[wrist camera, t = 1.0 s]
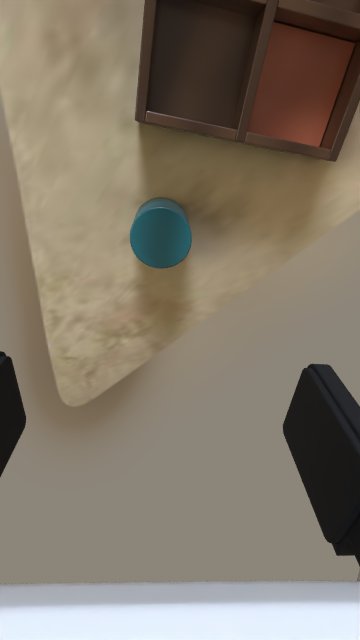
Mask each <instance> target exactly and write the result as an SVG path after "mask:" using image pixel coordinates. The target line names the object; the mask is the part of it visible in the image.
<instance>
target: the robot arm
mask: <svg viewBox="0 0 360 640" xmlns="http://www.w3.org/2000/svg"><path fill="white" fill-rule="evenodd" d="M25 423H26V415H25V412H24V408H23V403H22V399H21V396H20V391H19V387H18V383H17V379H16V375H15V371H14V367H13V363H12V359H11V358H10V357H9V356H6V354H5V353H4V352H1V351H0V477H1V474H2V473H3V471H4V468H5V466H6V464H7V462H8V460H9V458H10V456H11V454H12V452H13V450H14V448H15V446H16V444H17V442H18V440H19V438H20V436H21V434H22V432H23V430H24V428H25ZM283 432H284V436H285V439H286V441H287V443H288V446H289V448H290V451H291V454H292V456H293V459H294V461H295V464H296V466H297V468H298V471H299V474H300V476H301V479H302V482H303V484H304V487H305V489H306V492H307V494H308V497H309V499H310V502H311V504H312V507H313V509H314V512H315V514H316V517H317V519H318V522H319V525H320V527H321V530H322V532H323V534H324V537H325V539H326V540H327V541H328V542H329V543H332V545H333V547H334V550H335V552H336V555H337V556H339V555H341V556H342V555H343V556H345V555H346V556H347V555H355V557H356V559H357V561H358V563H359V566H360V406H359V405H358V404H357V402H356V401H355V399H354V398H353V397H352V395H351V394H350V392H349V391H348V390H347V388H346V387H345V386H344V384H343V383H342V382H341V380H340V379H339V377H338V376H337V374H336V373H335V372H334V370H333V369H332V367H331V366H329V365H324V364H310V365H309V366H308V367H307V368H304V369H303V371H302V373H301V376H300V379H299V381H298V385H297V387H296V390H295V393H294V395H293V398H292V401H291V404H290V407H289V410H288V412H287V415H286V418H285V421H284V424H283ZM0 640H360V570H359V575H358V579H357V581H213V582H212V581H210V582H209V581H206V582H124V583H123V582H119V583H117V582H115V583H55V584H54V583H52V584H50V583H49V584H0Z"/></svg>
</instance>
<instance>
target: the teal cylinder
mask: <svg viewBox="0 0 360 640" xmlns="http://www.w3.org/2000/svg"><path fill="white" fill-rule="evenodd" d="M191 241H192V235H191V230H190V226H189V223H188V219H187V216H186V213H185V212H184V210H183V209H182V207H181V206H180V205H179V204H177V203H176V202H174V201H173V200H170V199H167V198H154V199H151V200H149V201H147V202H146V203H144V204H143V205H142V206H141V207H140V208H139V210H138V212H137V214H136V216H135V219H134V222H133V224H132V227H131V231H130V243H131V247H132V249H133V251H134V253H135V255H136V256H137V257H138V258H139V259H140V260H141V261H142V262H143V263H145V264H146V265H148V266H151V267H155V268H168V267H172V266H174V265H176V264H178V263H179V262H181V261H182V260H183V259H184V258H185V256H186V255H187V253H188V252H189V249H190V246H191Z"/></svg>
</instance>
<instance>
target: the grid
mask: <svg viewBox="0 0 360 640" xmlns="http://www.w3.org/2000/svg"><path fill="white" fill-rule="evenodd" d="M359 100H360V0H145V6H144V17H143V29H142V41H141V53H140V65H139V77H138V89H137V101H136V113H135V120H136V121H138V122H141V123H145V124H150V125H155V126H160V127H165V128H170V129H175V130H179V131H184V132H189V133H194V134H199V135H204V136H209V137H214V138H218V139H223V140H228V141H233V142H238V143H243V144H248V145H252V146H257V147H262V148H267V149H272V150H277V151H282V152H286V153H291V154H296V155H301V156H306V157H311V158H316V159H321V160H327V161H334V162H335V161H336V160H337V158H338V155H339V152H340V150H341V147H342V145H343V142H344V139H345V137H346V134H347V132H348V129H349V126H350V124H351V121H352V119H353V116H354V113H355V111H356V108H357V106H358V103H359Z"/></svg>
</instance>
